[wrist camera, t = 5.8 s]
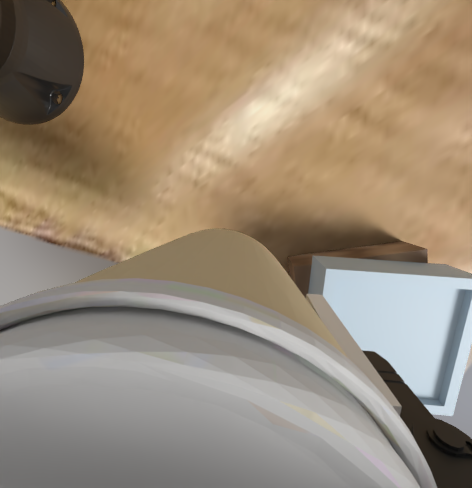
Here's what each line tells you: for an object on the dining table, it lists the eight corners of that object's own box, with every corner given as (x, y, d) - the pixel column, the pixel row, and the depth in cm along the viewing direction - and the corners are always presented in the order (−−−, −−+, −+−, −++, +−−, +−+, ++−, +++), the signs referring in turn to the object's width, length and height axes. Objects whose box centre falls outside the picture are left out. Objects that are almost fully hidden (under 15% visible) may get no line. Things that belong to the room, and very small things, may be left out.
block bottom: (298, 352, 36) (306, 378, 31) (287, 255, 33) (293, 266, 28) (403, 341, 35) (428, 366, 30) (400, 240, 32) (427, 249, 27)
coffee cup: (131, 343, 16) (-182, 752, 4) (155, 195, 14) (-289, 217, 2) (275, 377, 16) (350, 875, 4) (320, 234, 14) (663, 444, 2)
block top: (298, 369, 31) (308, 403, 26) (312, 255, 28) (326, 268, 23) (419, 379, 30) (452, 416, 25) (445, 264, 27) (488, 280, 22)
